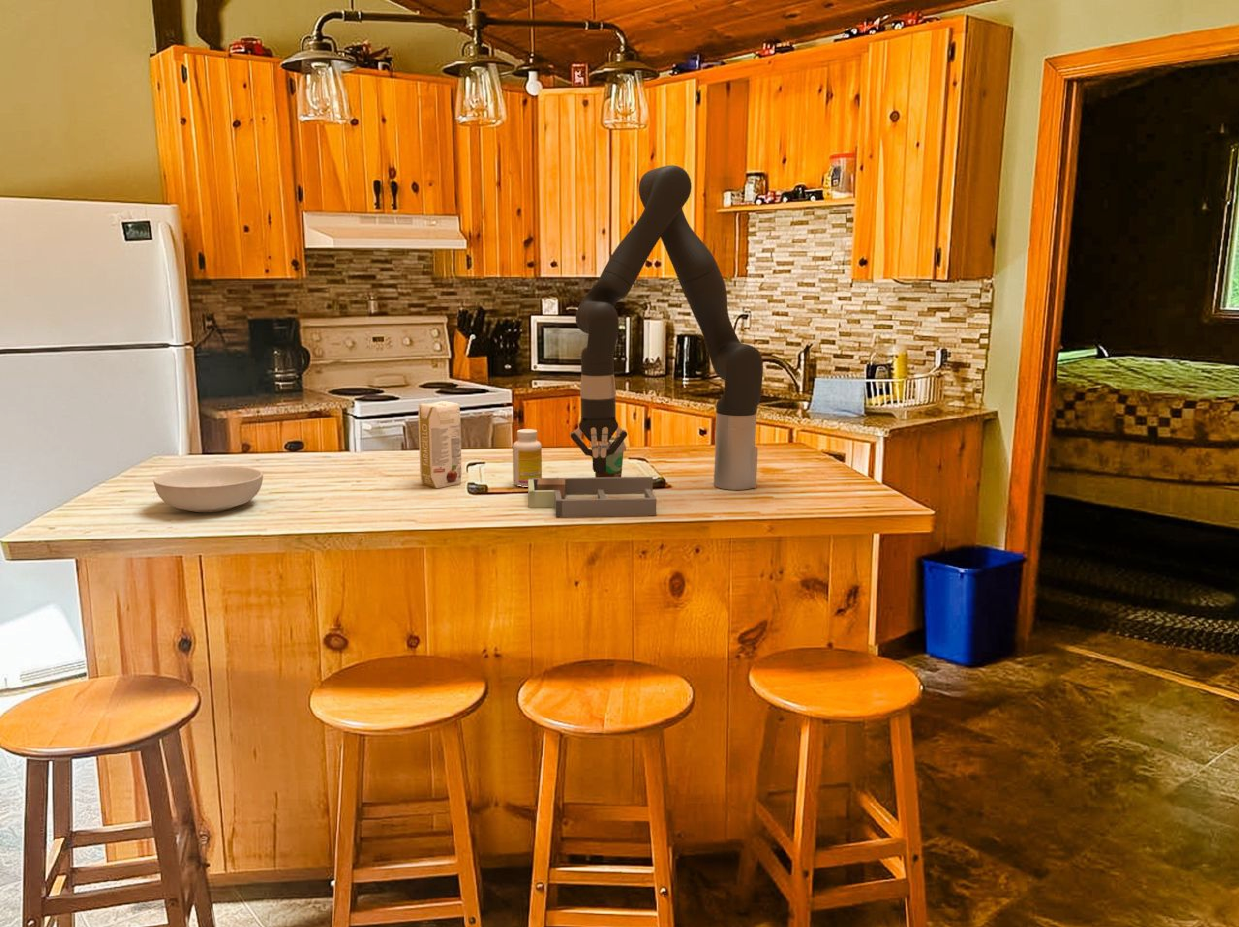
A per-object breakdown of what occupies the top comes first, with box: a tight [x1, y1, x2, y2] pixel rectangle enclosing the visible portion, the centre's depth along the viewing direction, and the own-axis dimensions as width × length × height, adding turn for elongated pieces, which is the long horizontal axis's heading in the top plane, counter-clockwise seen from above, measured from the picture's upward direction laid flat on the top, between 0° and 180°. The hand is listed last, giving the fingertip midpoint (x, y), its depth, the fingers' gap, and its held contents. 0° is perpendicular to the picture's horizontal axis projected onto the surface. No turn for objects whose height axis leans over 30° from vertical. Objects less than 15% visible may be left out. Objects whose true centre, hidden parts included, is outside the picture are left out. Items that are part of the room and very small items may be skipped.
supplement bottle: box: [512, 428, 543, 486], centre depth 220 cm, size 7×7×13 cm
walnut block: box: [537, 477, 566, 499], centre depth 209 cm, size 6×6×4 cm
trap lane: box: [527, 476, 658, 518], centre depth 204 cm, size 28×21×4 cm
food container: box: [594, 436, 627, 477], centre depth 223 cm, size 12×6×10 cm, turn 168°
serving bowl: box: [153, 465, 264, 513], centre depth 198 cm, size 21×21×7 cm
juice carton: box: [417, 400, 462, 489], centre depth 219 cm, size 8×9×19 cm
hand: (599, 473), depth 208 cm, fingers closed
